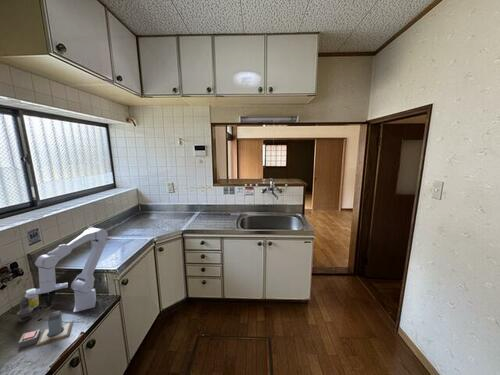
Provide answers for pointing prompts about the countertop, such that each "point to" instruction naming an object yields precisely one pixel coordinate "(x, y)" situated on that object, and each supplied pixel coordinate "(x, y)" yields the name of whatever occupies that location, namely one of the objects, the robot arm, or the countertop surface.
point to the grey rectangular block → (55, 323)
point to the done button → (29, 335)
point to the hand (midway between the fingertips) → (49, 305)
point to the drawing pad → (64, 333)
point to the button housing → (29, 341)
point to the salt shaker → (25, 310)
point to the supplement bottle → (33, 299)
